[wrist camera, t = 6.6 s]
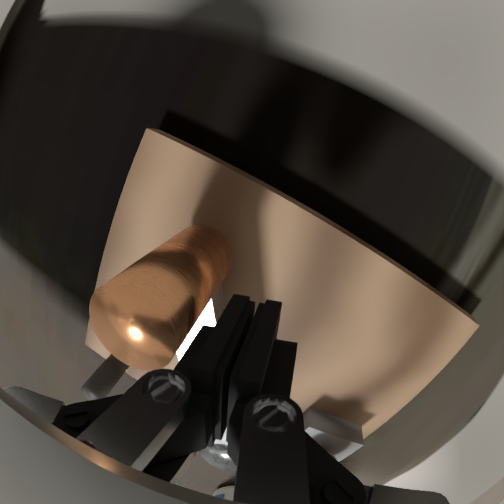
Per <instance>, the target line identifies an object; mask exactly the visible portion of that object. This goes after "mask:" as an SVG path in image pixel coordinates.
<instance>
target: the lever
mask: <svg viewBox="0 0 504 504" xmlns="http://www.w3.org/2000/svg"><path fill="white" fill-rule="evenodd" d="M231 264H232V252H231V249H230V246H229V244H228V242H227V240H226V239H225V238H224V236H223V235H222V234H221V233H219V232H218V231H217V230H215V229H213V228H211V227H209V226H205V225H193V226H189V227H187V228H185V229H184V230H182V231H181V232H179V233H177V234H176V235H174V236H173V237H171V238H170V239H168V240H167V241H165V242H164V243H162V244H161V245H159V246H158V247H157V248H155V249H154V250H152V251H151V252H149V253H148V254H146V255H145V256H143V257H142V258H140V259H139V260H138V261H136V262H135V263H133V264H132V265H130V266H129V267H127V268H126V269H125V270H123V271H122V272H120V273H119V274H118V275H116V276H115V277H113V278H112V279H111V280H109V281H108V282H106V283H105V284H104V285H102V286H101V287H100V288H98V289H97V290H96V291H95V292H94V294H93V295H92V298H91V300H90V305H89V314H90V320H91V323H92V326H93V329H94V331H95V333H96V335H97V337H98V338H99V340H100V341H101V343H102V344H103V345H104V347H105V348H106V349H107V350H108V351H109V352H110V353H111V354H112V355H113V356H115V357H116V358H117V359H118V360H120V361H121V362H123V363H125V364H127V365H129V366H131V367H133V368H136V369H140V370H146V371H152V370H156V369H162V368H164V367H165V366H167V365H168V364H169V363H170V362H171V361H172V359H173V357H174V356H175V354H176V353H177V356H178V360H179V361H180V359H181V358H182V356H183V355H184V353H185V351H186V350H187V348H188V347H189V345H190V344H191V342H192V341H193V339H194V338H195V336H196V335H197V333H198V332H199V330H200V329H201V327H202V326H203V325H208V326H212V327H214V326H215V325H216V323H217V321H218V320H219V318H220V316H221V314H222V313H223V311H224V309H225V304H224V297H223V290H222V284H221V283H222V282H223V280H224V279H225V277H226V275H227V274H228V272H229V270H230V268H231ZM226 430H227V427H226ZM226 430H225V433H224V435H223V438H222V440H217V439H216V440H215V442H214V445H213V447H209V446H207V447H206V448H205V449H202V450H200V454H201V456H202V457H203V459H204V460H205V461H207V462H208V463H209V464H211V465H213V466H215V467H217V468H220V469H223V470H227V471H234V472H236V469H237V466H236V465H235V463H234V462H233V461H232V460H231V458H230V457H229V456H228V454H227V447H228V442H226Z"/></svg>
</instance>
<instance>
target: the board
mask: <svg viewBox="0 0 504 504" xmlns="http://www.w3.org/2000/svg"><path fill="white" fill-rule="evenodd" d="M193 225H205V226H209V227H211V228H213V229H215V230H217V231H218V232H219V233H221V234H222V235H223V236H224V238H225V239H226V240H227V242H228V244H229V246H230V249H231V252H232V264H231V268H230V270H229V272H228V274H227V275H226V277H225V279H224V280H223V282H222V283H221V284H222V290H223V297H224V304H225V308H226V306H227V304H228V303H229V301H230V299H231V297H232V296H233V294H239V295H244V296H250V301H254V302H255V312H256V310H257V307H258V305H259V303H265V302H266V299H267V300H273V301H279V302H282V308H281V314H280V321H279V327H278V333H277V339H279V340H285V341H291V342H297V343H298V345H297V353H296V360H295V367H294V374H293V380H292V387H291V393H290V399H292V400H293V401H295V402H296V403H297V404H298V405H299V407H300V408H301V410H302V413H303V418H304V430H305V431H306V432H307V433H308V434H309V435H310V436H311V437H312V438H313V439H314V440H315V441H316V442H317V443H318V444H319V445H320V446H322V447H323V448H324V449H325V450H326V451H327V452H328V453H329V454H330V455H331V456H332V457H334V458H335V459H336V460H337V461H338V462H340V461H341V460H343V459H344V458H346V457H347V456H349V455H350V454H352V453H353V452H355V451H356V450H357V449H359V448H360V447H362V446H363V445H364V443H363V439H364V438H366V437H367V436H368V435H370V434H371V433H372V432H374V431H375V430H376V429H377V428H379V427H380V426H381V425H382V424H384V423H385V422H386V421H387V420H389V419H390V418H391V417H392V416H393V415H394V414H396V413H397V412H398V411H399V410H400V409H401V408H403V407H404V406H405V405H406V404H407V403H408V402H409V401H410V400H411V399H413V398H414V397H415V396H416V395H417V394H418V393H419V392H420V391H421V390H422V389H423V388H424V387H425V386H426V385H427V384H428V383H429V382H430V381H431V380H432V379H433V378H434V377H435V376H436V375H437V374H438V373H439V372H440V371H441V370H442V369H443V368H444V367H445V366H446V365H447V364H448V362H449V361H450V360H451V359H452V358H453V357H454V356H455V355H456V354H457V352H458V351H459V350H460V349H461V348H462V347H463V345H464V344H465V343H466V342H467V341H468V339H469V338H470V337H471V336H472V335H473V333H474V332H475V331H476V330H477V328H478V327H479V324H478V323H477V322H476V321H475V319H474V318H473V317H472V316H471V315H470V314H469V313H468V312H466V311H465V310H464V309H462V308H461V307H460V306H458V305H457V304H456V303H454V302H453V301H452V300H450V299H449V298H447V297H446V296H445V295H443V294H442V293H441V292H439V291H438V290H436V289H435V288H434V287H432V286H431V285H429V284H428V283H426V282H425V281H424V280H422V279H421V278H419V277H418V276H416V275H415V274H413V273H412V272H411V271H409V270H408V269H406V268H405V267H403V266H402V265H400V264H399V263H397V262H396V261H394V260H393V259H391V258H390V257H388V256H387V255H385V254H384V253H382V252H380V251H379V250H377V249H376V248H374V247H373V246H371V245H370V244H368V243H366V242H365V241H363V240H362V239H360V238H359V237H357V236H355V235H354V234H352V233H351V232H349V231H347V230H346V229H344V228H342V227H341V226H339V225H338V224H336V223H334V222H333V221H331V220H329V219H328V218H326V217H324V216H323V215H321V214H319V213H318V212H316V211H314V210H312V209H311V208H309V207H307V206H306V205H304V204H302V203H300V202H299V201H297V200H295V199H293V198H292V197H290V196H288V195H286V194H285V193H283V192H281V191H279V190H277V189H276V188H274V187H272V186H270V185H268V184H267V183H265V182H263V181H261V180H259V179H257V178H255V177H254V176H252V175H250V174H248V173H246V172H244V171H242V170H240V169H239V168H237V167H235V166H233V165H231V164H229V163H227V162H225V161H223V160H221V159H219V158H217V157H215V156H213V155H211V154H209V153H207V152H205V151H203V150H201V149H199V148H197V147H195V146H193V145H191V144H189V143H187V142H185V141H183V140H181V139H179V138H176V137H174V136H172V135H170V134H168V133H166V132H164V131H161V130H159V129H151V128H147V129H146V131H145V134H144V136H143V138H142V141H141V143H140V146H139V148H138V150H137V153H136V156H135V158H134V161H133V163H132V166H131V169H130V171H129V174H128V177H127V179H126V182H125V185H124V188H123V191H122V194H121V197H120V200H119V203H118V206H117V209H116V212H115V215H114V219H113V222H112V225H111V229H110V232H109V236H108V239H107V243H106V246H105V250H104V254H103V258H102V262H101V266H100V270H99V274H98V278H97V283H96V287H95V291H96V290H97V289H98V288H100V287H101V286H102V285H104V284H105V283H106V282H108V281H109V280H111V279H112V278H113V277H115V276H116V275H118V274H119V273H120V272H122V271H123V270H125V269H126V268H127V267H129V266H130V265H132V264H133V263H135V262H136V261H138V260H139V259H140V258H142V257H143V256H145V255H146V254H148V253H149V252H151V251H152V250H154V249H155V248H157V247H158V246H159V245H161V244H162V243H164V242H165V241H167V240H168V239H170V238H171V237H173V236H174V235H176V234H177V233H179V232H181V231H182V230H184V229H185V228H187V227H189V226H193ZM255 312H254V315H255ZM85 344H86V345H87V346H89V347H90V348H91V349H93V350H94V351H95V352H97V353H98V354H99V355H101V356H102V357H104V358H105V359H106V360H105V361H104V362H103V363H102V365H101V366H100V367H99V368H98V369H97V370H96V371H95V372H94V374H93V375H92V376H91V377H90V378H89V379H88V380H87V381H86V383H85V384H84V385H83V386H82V387H81V391H82V393H83V395H84V396H85V397H86V398H87V399H88V400H89V401H90V400H96V399H101V398H105V397H106V396H107V395H108V393H109V392H110V391H111V389H112V388H113V387H114V386H115V384H116V383H117V382H118V380H119V379H120V378H121V377H122V375H123V374H124V373H125V372H126V373H127V374H129V375H130V376H132V377H133V378H135V379H137V380H138V379H139V378H140V377H142V376H143V375H144V374H146V373H147V372H150V371H146V370H140V369H136V368H133V367H131V366H129V365H127V364H125V363H123V362H121V361H120V360H118V359H117V358H116V357H115V356H113V355H112V354H111V353H110V352H109V351H108V350H107V349H106V348H105V347H104V345H103V344H102V343H101V341H100V340H99V338H98V337H97V335H96V333H95V331H94V329H93V326H92V323H91V320H90V317H89V323H88V329H87V335H86V342H85ZM178 362H179V360H178V356H177V353H176V354H175V356H174V357H173V359H172V361H171V362H170V363H169V364H168V365H167V366H165V367H164V368H162V369H172V370H174V368H175V367H176V365H177V364H178Z"/></svg>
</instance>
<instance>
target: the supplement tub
mask: <svg viewBox="0 0 504 504" xmlns="http://www.w3.org/2000/svg"><path fill="white" fill-rule="evenodd" d="M234 487H235V485H233V486H226V487H222V488H219V489H217V490H216V491H215V492H214V494H213V496H215V497H219V498H223V499H227V500H231V501H233V495H234Z"/></svg>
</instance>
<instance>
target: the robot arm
mask: <svg viewBox="0 0 504 504" xmlns="http://www.w3.org/2000/svg"><path fill="white" fill-rule="evenodd" d="M281 308H282V302H279V301H273V300H267V299H266V302H265V303H259V305H258V307H257V310H256V312H255V302H254V301H250V296H244V295H239V294H233V296H232V297H231V299H230V301H229V303H228V304H227V306H226V308H225V309H224V311H223V313H222V314H221V316H220V318H219V320H218V321H217V323H216V325H215V326H214V327H212V326H208V325H203V326H202V327H201V329H200V330H199V332H198V333H197V335H196V336H195V338H194V339H193V341H192V342H191V344H190V345H189V347H188V348H187V350H186V351H185V353H184V355H183V356H182V358H181V359H180V361H179V362H178V364H177V365H176V367H175V368H174V370H172V369H156V370H152V371H150V372H147V373H146V374H144V375H143V376H142V377H140V378H139V379H138V380H137V381H136V382H135V383H134V384H133V385H132V386H131V387H130V388H129V389H128V390H127V391H126V392H125V393H124V394H120V395H116V396H111V397H106V398H101V399H96V400H90V401H85V402H79V403H74V404H70V405H67V406H65V404H64V402H62V401H59V400H56V399H53V398H50V397H47V396H44V395H42V394H39V393H36V392H33V391H31V390H28V389H26V388H23V387H20V386H10V387H8V388H6V389H4V390H3V389H1V388H0V504H449V502H448V500H447V498H446V497H445V496H443V495H442V494H440V493H436V492H431V491H420V490H410V489H403V488H395V487H389V486H384V485H378V484H374V485H373V486H367V485H363V484H362V483H361V482H360V480H359V479H358V478H357V477H355V476H354V475H353V474H352V473H351V472H349V471H348V470H347V469H346V468H345V467H344V466H343V465H341V464H340V463H339V462H338V461H337V460H336V459H335V458H334V457H332V456H331V455H330V454H329V453H328V452H327V451H326V450H325V449H324V448H323V447H322V446H320V445H319V444H318V443H317V442H316V441H315V440H314V439H313V438H312V437H311V436H310V435H309V434H308V433H307V432H306V431H305V430H304V418H303V413H302V410H301V408H300V407H299V405H298V404H297V403H296V402H295V401H293V400H292V399H290V393H291V387H292V380H293V374H294V367H295V360H296V353H297V345H298V343H297V342H291V341H285V340H279V339H277V333H278V327H279V321H280V314H281ZM254 312H255V315H254ZM226 427H227V430H226ZM225 430H226V442H228V447H227V454H228V456H229V457H230V458H231V460H232V461H233V462H234V463H235V465H236V466H237V469H236V478H235V487H234V495H233V501H231V500H227V499H223V498H219V497H215V496H211V495H207V494H204V493H200V492H197V491H194V490H190V489H187V488H184V487H181V486H178V485H176V483H177V482H178V481H179V479H180V478H181V476H182V475H183V473H184V472H185V471H186V469H187V468H188V466H189V465H190V463H191V462H192V460H193V459H194V457H195V455H196V452H197V451H199V450H202V449H205V448H206V447H207V446H209V447H213V445H214V442H215V440H216V439H217V440H222V438H223V435H224V433H225Z"/></svg>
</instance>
